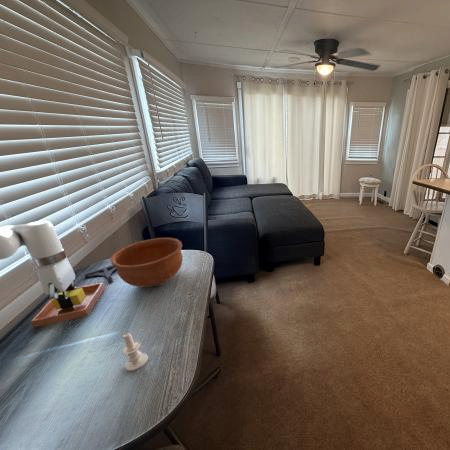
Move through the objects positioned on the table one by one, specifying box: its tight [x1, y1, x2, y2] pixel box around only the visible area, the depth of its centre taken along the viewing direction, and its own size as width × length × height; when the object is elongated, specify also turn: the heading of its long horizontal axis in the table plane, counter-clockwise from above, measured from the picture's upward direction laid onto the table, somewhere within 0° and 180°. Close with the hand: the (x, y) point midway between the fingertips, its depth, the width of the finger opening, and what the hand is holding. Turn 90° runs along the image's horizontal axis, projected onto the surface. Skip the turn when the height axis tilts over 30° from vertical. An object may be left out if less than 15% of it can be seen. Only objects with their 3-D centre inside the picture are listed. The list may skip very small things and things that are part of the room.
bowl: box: [109, 237, 183, 288], centre depth 98 cm, size 25×25×15 cm
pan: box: [30, 282, 106, 328], centre depth 87 cm, size 14×17×3 cm
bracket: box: [83, 264, 117, 284], centre depth 105 cm, size 14×15×3 cm
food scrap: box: [58, 307, 75, 314], centre depth 82 cm, size 4×4×2 cm
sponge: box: [50, 288, 86, 310], centre depth 85 cm, size 7×4×4 cm, turn 112°
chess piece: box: [122, 332, 149, 372], centre depth 63 cm, size 5×5×10 cm
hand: (70, 302), depth 85 cm, fingers closed on sponge, 4 cm apart
